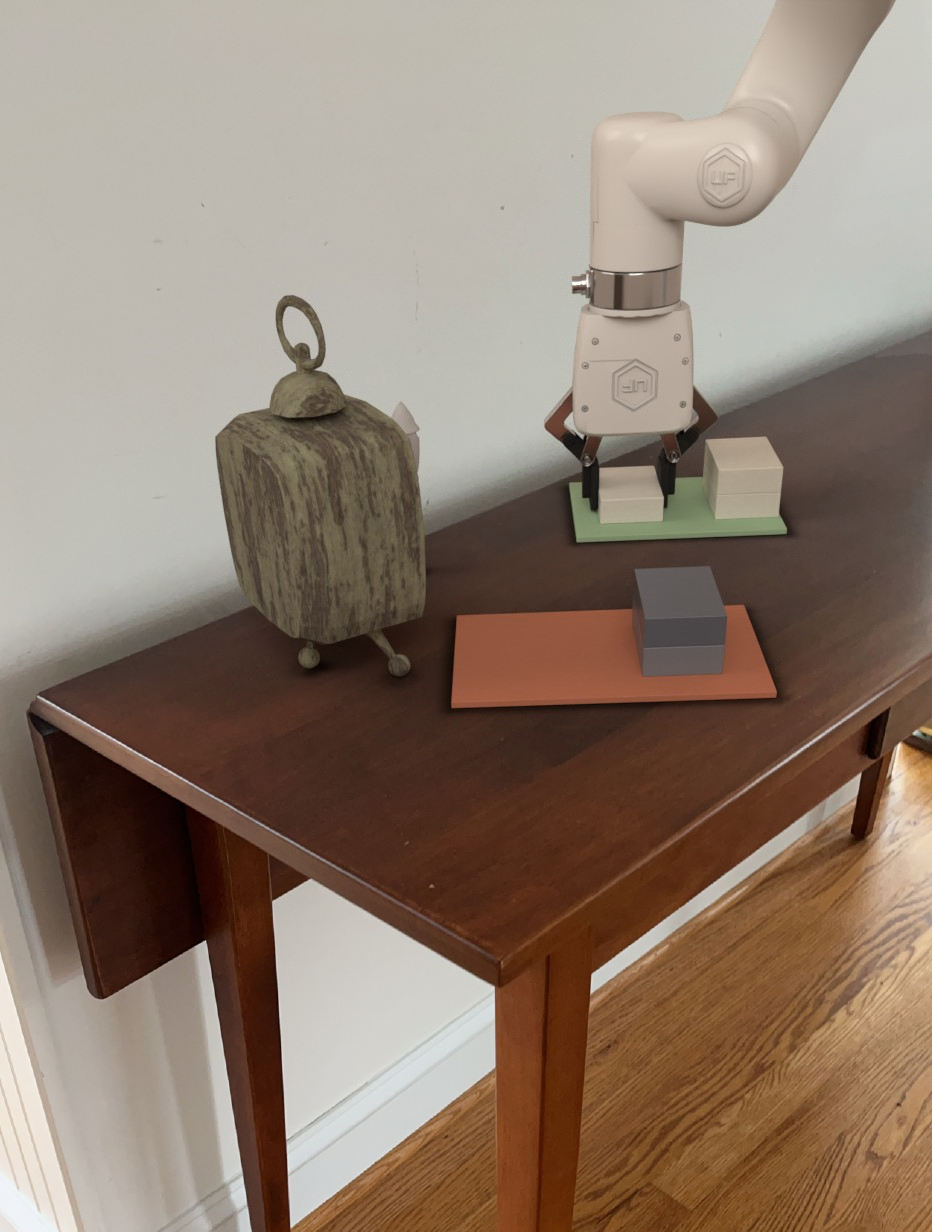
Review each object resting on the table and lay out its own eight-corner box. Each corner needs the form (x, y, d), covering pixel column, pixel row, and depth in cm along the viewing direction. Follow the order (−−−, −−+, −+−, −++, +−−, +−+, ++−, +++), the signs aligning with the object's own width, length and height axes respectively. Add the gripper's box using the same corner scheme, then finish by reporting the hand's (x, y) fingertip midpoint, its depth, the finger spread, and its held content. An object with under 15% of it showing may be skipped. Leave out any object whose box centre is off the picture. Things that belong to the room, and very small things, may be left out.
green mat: (759, 479, 118) (759, 474, 118) (786, 534, 107) (787, 528, 107) (569, 487, 120) (569, 482, 119) (576, 542, 108) (576, 537, 108)
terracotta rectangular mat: (743, 610, 95) (744, 604, 95) (776, 698, 84) (777, 691, 84) (457, 621, 97) (456, 615, 97) (451, 708, 86) (451, 701, 85)
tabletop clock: (434, 680, 89) (408, 304, 74) (320, 716, 86) (269, 330, 71) (345, 611, 99) (307, 269, 85) (240, 641, 96) (182, 291, 81)
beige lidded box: (762, 483, 116) (766, 436, 113) (778, 517, 109) (783, 466, 106) (702, 486, 116) (705, 438, 114) (715, 519, 109) (718, 469, 107)
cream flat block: (653, 488, 117) (654, 465, 115) (662, 521, 110) (664, 497, 108) (594, 491, 117) (594, 467, 116) (600, 524, 110) (600, 499, 109)
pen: (392, 570, 106) (378, 400, 97) (421, 563, 106) (410, 394, 98) (404, 580, 104) (390, 407, 96) (433, 573, 105) (422, 402, 96)
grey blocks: (706, 621, 93) (710, 565, 91) (722, 674, 86) (727, 615, 84) (631, 624, 93) (633, 568, 91) (642, 676, 87) (645, 618, 84)
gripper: (531, 303, 100) (533, 522, 111) (747, 292, 99) (729, 515, 110) (529, 283, 106) (532, 493, 117) (733, 273, 105) (717, 485, 116)
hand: (627, 501), depth 113 cm, fingers closed on cream flat block, 5 cm apart
